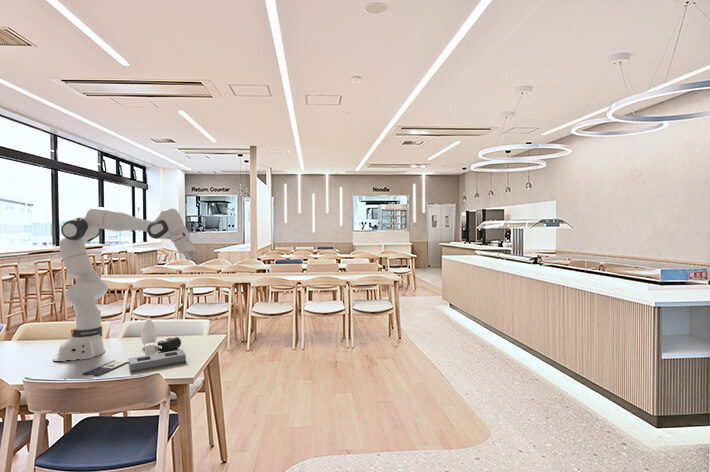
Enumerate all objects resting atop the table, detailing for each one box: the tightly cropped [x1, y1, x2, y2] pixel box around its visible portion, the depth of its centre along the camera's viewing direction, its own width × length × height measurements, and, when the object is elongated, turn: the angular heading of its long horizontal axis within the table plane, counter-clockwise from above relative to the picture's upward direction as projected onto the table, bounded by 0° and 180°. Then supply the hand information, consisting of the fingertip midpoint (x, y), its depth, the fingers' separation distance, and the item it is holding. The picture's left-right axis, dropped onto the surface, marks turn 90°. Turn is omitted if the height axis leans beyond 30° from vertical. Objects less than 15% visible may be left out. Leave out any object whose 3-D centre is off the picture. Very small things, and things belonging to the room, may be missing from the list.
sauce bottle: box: [140, 314, 158, 346], centre depth 223 cm, size 8×8×18 cm
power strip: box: [128, 349, 187, 374], centre depth 193 cm, size 24×10×4 cm, turn 124°
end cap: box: [157, 336, 182, 354], centre depth 213 cm, size 10×7×7 cm
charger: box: [144, 343, 156, 356], centre depth 203 cm, size 4×4×7 cm
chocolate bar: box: [82, 360, 129, 377], centre depth 188 cm, size 9×1×18 cm
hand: (192, 259), depth 211 cm, fingers open, 8 cm apart
